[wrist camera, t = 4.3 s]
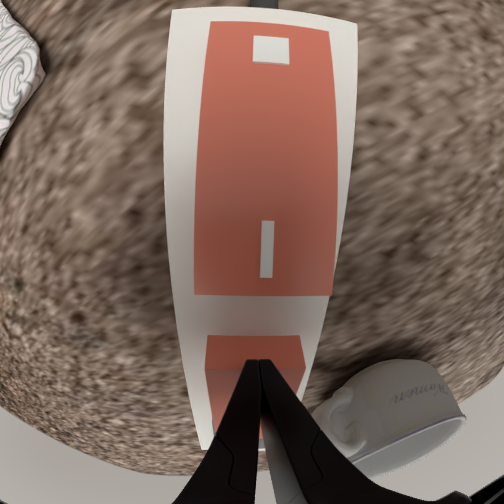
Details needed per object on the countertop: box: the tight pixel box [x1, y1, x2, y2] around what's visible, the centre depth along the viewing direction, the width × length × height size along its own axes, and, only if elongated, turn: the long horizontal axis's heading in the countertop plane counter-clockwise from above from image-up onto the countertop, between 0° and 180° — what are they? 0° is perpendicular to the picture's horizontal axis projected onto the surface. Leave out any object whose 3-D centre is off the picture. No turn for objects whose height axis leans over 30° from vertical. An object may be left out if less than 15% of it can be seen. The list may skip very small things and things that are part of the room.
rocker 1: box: [194, 21, 338, 296], centre depth 7 cm, size 4×8×2 cm, turn 178°
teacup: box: [311, 359, 466, 479], centre depth 16 cm, size 14×11×8 cm
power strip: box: [164, 0, 358, 451], centre depth 13 cm, size 7×34×4 cm, turn 177°
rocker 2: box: [204, 335, 306, 439], centre depth 12 cm, size 4×8×2 cm, turn 177°
